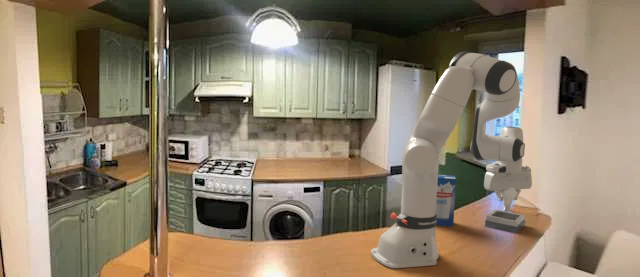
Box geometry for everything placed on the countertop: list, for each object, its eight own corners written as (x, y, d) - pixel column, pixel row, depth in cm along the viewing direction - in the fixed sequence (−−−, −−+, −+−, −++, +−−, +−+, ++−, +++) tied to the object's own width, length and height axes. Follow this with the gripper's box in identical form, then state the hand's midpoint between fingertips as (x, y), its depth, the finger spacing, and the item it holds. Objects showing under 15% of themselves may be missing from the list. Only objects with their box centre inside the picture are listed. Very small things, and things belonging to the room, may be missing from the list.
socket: (517, 233, 146) (517, 222, 145) (484, 226, 154) (485, 215, 153) (524, 225, 155) (525, 215, 154) (494, 219, 163) (494, 209, 162)
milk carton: (452, 222, 159) (454, 175, 156) (453, 226, 153) (456, 178, 150) (427, 219, 161) (429, 174, 159) (428, 224, 155) (430, 177, 153)
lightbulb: (498, 212, 151) (500, 185, 150) (497, 208, 157) (498, 182, 156) (516, 214, 149) (518, 187, 148) (514, 210, 155) (516, 183, 154)
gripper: (525, 164, 157) (522, 196, 158) (482, 166, 152) (480, 199, 153) (537, 167, 151) (534, 200, 152) (493, 169, 146) (491, 203, 147)
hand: (507, 200), depth 153 cm, fingers closed on lightbulb, 5 cm apart
